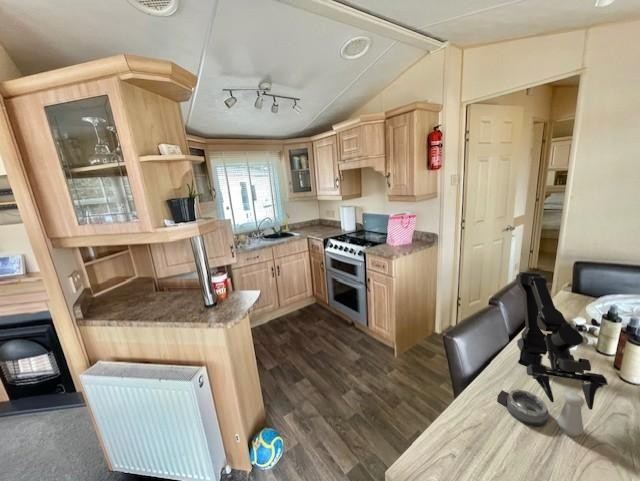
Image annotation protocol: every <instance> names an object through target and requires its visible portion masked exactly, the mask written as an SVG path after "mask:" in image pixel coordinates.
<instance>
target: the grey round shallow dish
mask: <svg viewBox="0 0 640 481" xmlns="http://www.w3.org/2000/svg"><path fill="white" fill-rule="evenodd" d="M496 399H497V400H496V402H497V403H499V404H500V405H503V406H505V407H506V410H507V412H508V413H509V414H510V415H511V416H512V418H514V419H515V420H517V421H518V422H520V423H522V424H524V425H527V426H530V427H533V428H534V427H536V428H542V427H544V426H546V425H547V424H548V418H549V410H548V407H547V405H546V403H545V401H544V400H543V399H541V398H540V397H539V396H538V395H536V394H535V393H532V392H529V391H528V390H522V389H514V390H511V391H510V392H507V391H505V390H503V389H502V390H501V391H500V392H499V393H498V394H497V398H496Z"/></svg>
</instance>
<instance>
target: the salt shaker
mask: <svg viewBox="0 0 640 481" xmlns="http://www.w3.org/2000/svg"><path fill="white" fill-rule="evenodd" d="M563 397H564V401H565V403H564V404H563V406H562V409H561V410H560V413H559V415H558V417H557V419H556V421H557V424H558V426H559V430H560V431H561V432H563V433H564V435H567V436H568V437H569V436H570V437H572V438H576V437H577V436H580V435H581V434H582V433H583V432H584V424H583V415H582V407H583V406H584V405H585V400H584V399H585V398H583V397H582V396H581V395H580V394H578V393H577V392H574V391H565V393H564V395H563Z"/></svg>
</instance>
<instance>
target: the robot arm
mask: <svg viewBox="0 0 640 481" xmlns="http://www.w3.org/2000/svg"><path fill="white" fill-rule="evenodd" d="M515 280H516V283H517V287H518V288H519V289H520V291H521V292H522V294H523V295H522V296H523V297H522V298H523V306H524V308H523V309H524V320H525V324H524V325H525V328H524V329H523V331H522V333H521V337H520V338H519V339H517V340H516V343H517V344H516V345H517V347H518V349H519V351H520V354H519V360H517V363H518V364H520V365H523V366H526V375H528V376H531V378H532V379H534V380H536V382H537V384H539V386H540V387H541V388H542V390H543V391H544V393H545V394H546V396H547V398H548V399H549V401H550V402H551V403H554V402H555V400H554V394H553V391H552V387H551V384H550V377H556V378H562V379H569V380H575V381H581V383H583V384H581V388H582V392H583V395H584V399H585V402H586V403H585V404H586V405H587V408H588V409H589V410H590V411H591V410H592V411H593V409H594V402H595V396H596V394H597V390H599V389H600V388H603V386H607V385H609V383H608V379H607V378H606V377H605V376H604V375H603V374H601V373H594V372H591V371H592V367H591V363H590V360H589V359H587V358H582V357H579V358H578V359H577V360H576V359H575V357H574V355H573V354H571V350H570V349H573V348H575V347H577V346H579V345H581V344H582V343H583V335H582V334H581V333H580V331H578V330H577V329H576V328H573V327H572V324H570V323H569V322H568V321H567V320H566V318H565V316H564V315H563V313H562V312H561V311H560V310H558V309H557V308H556V306H555V304H554V301H553V298H552V296H551V293H550V290H549V288H548V285H547V278H546V276H545V275H544V276H543V275H541V274H539V272H531V271H529V272H526V271H520V272H519V273H517V274H516V275H515ZM544 332H548V333H546V334H545V333H544ZM550 332H551V333H550ZM547 354H548V355H547ZM543 355H544V356H546V355H547V359H548V360H549V364H550V368H547V367H546V365H542V364H543ZM585 371H587V372H585Z"/></svg>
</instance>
